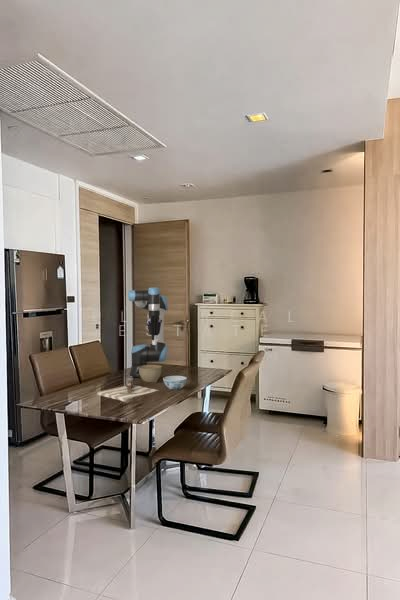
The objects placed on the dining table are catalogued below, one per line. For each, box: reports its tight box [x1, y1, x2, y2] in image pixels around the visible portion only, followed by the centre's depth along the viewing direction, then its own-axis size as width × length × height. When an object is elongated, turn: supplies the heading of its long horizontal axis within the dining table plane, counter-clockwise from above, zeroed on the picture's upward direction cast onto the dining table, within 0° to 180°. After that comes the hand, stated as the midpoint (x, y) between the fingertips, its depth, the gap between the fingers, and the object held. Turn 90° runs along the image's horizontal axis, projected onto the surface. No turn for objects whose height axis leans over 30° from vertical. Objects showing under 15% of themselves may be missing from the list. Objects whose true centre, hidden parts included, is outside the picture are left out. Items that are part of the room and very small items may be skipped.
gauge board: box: [96, 384, 160, 402], centre depth 254 cm, size 27×27×2 cm
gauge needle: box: [125, 376, 135, 392], centre depth 258 cm, size 19×5×6 cm, turn 9°
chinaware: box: [162, 375, 188, 390], centre depth 262 cm, size 15×15×8 cm
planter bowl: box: [138, 364, 163, 383], centre depth 287 cm, size 16×16×11 cm
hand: (154, 344), depth 279 cm, fingers closed
